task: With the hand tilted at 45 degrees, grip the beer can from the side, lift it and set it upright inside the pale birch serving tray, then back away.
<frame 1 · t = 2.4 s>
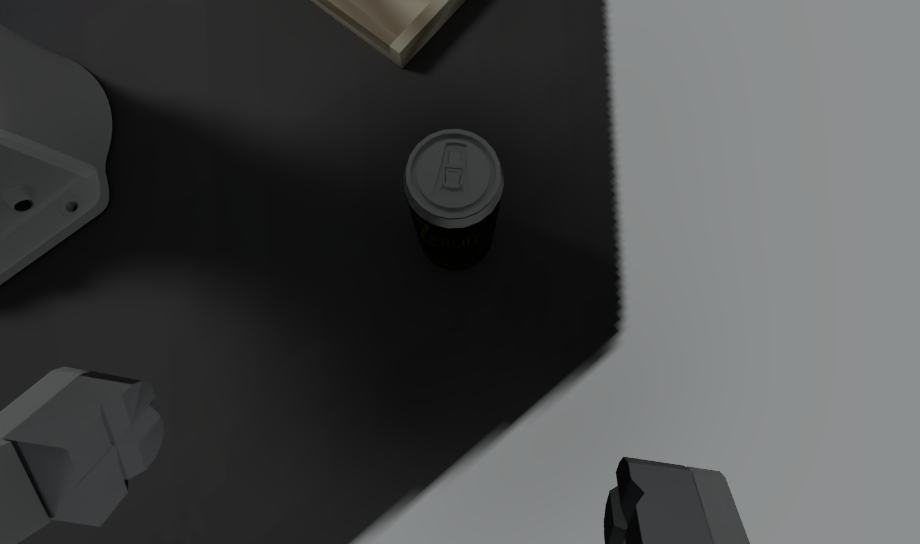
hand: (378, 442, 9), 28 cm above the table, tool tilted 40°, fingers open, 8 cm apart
beer can: (455, 237, 39), on the table
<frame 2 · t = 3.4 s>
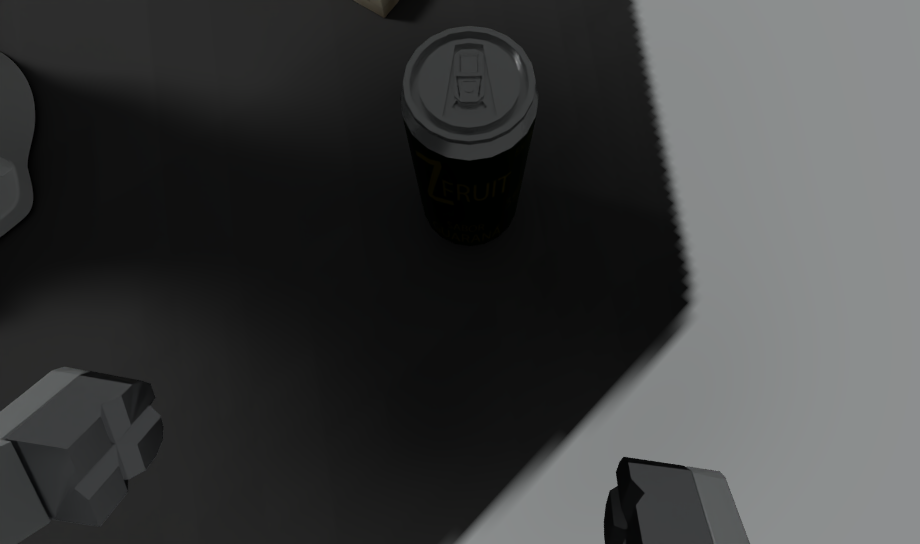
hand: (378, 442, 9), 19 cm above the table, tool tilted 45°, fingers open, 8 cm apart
beer can: (469, 207, 31), on the table
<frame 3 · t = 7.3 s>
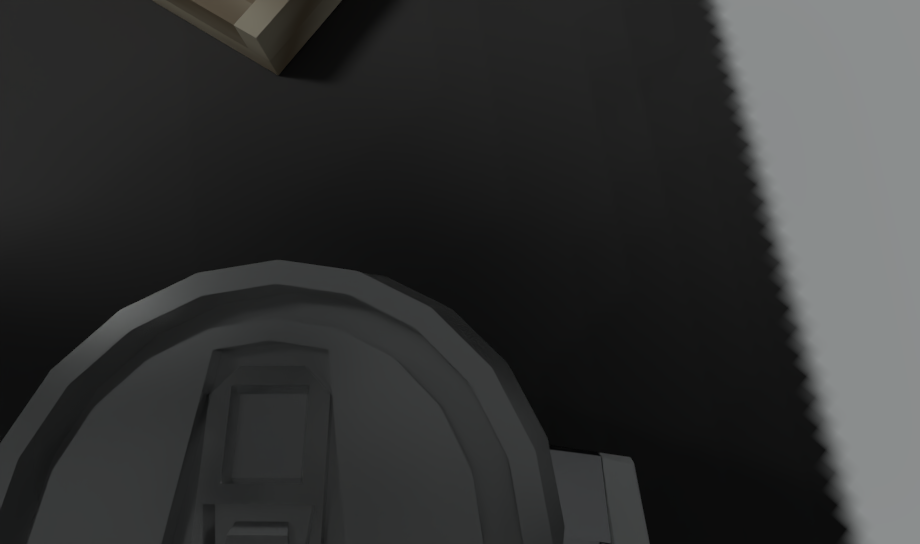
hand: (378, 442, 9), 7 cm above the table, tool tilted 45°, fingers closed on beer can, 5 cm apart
beer can: (420, 453, 16), on the table, touching gripper
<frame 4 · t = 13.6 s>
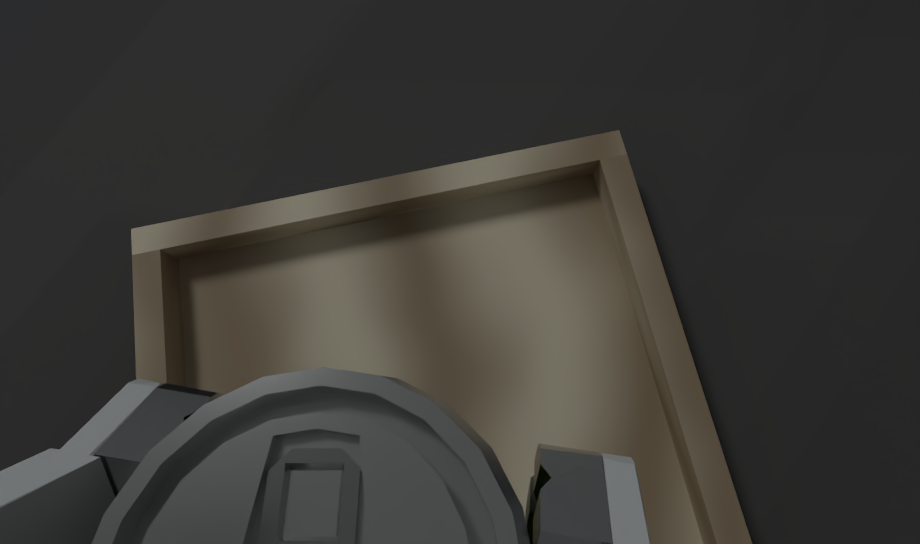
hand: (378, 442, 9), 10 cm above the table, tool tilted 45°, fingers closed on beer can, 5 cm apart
birch tray: (427, 432, 19), on the table
beer can: (409, 543, 17), point 1 cm above the table, touching birch tray, gripper
when the fingers open (10 cm above the table, at t = 14.3 s): beer can stays where it is, resting on birch tray.
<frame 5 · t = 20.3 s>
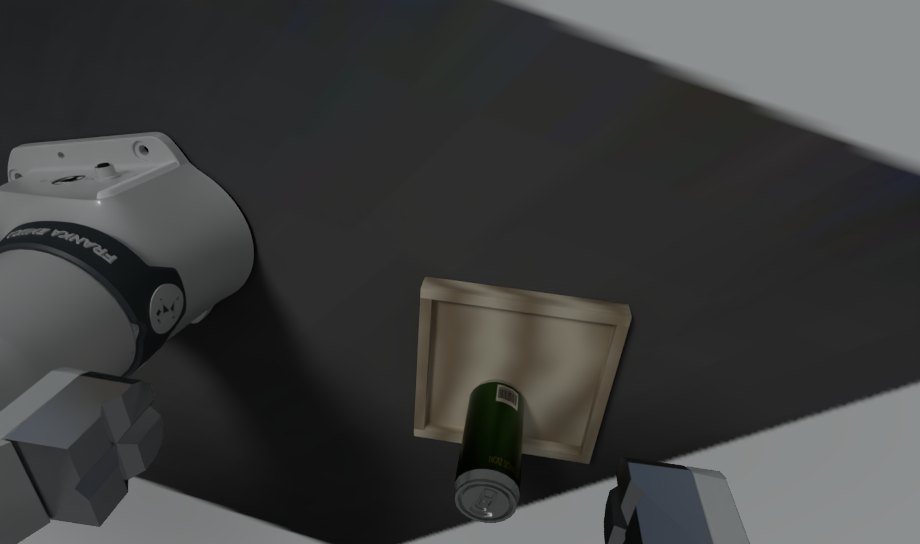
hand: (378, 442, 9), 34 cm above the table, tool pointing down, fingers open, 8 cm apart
birch tray: (512, 368, 51), on the table
beer can: (497, 396, 52), point 1 cm above the table, touching birch tray
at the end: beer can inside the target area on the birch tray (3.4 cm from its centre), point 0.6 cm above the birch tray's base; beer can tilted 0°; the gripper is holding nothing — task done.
